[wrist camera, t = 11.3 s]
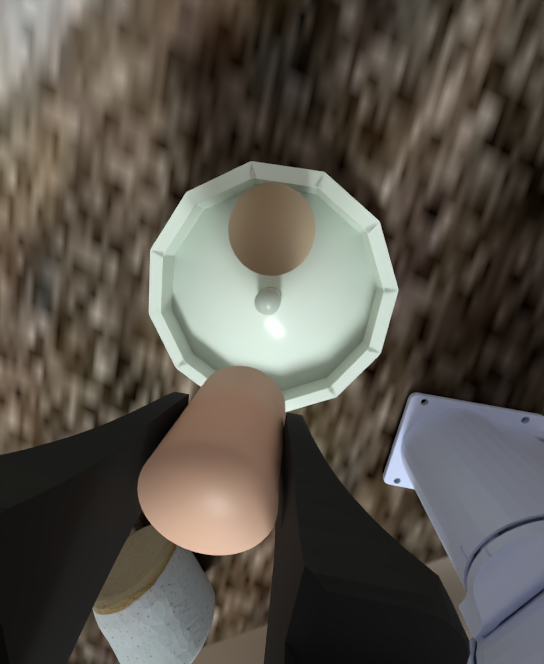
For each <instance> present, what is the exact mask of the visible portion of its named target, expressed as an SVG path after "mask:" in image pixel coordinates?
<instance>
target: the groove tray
mask: <svg viewBox="0 0 544 664" xmlns="http://www.w3.org/2000/svg"><path fill="white" fill-rule="evenodd" d="M265 183H279V184H284V185H287V186H289V187H291V188H293V189H295V190H296V191H297V192H299V193H300V194H301V195H302V196H303V197H304V198H305V200H306V201H307V202H308V204H309V206H310V208H311V210H312V212H313V216H314V219H315V239H314V242H313V246H312V248H311V250H310V252H309V254H308V256H307V257H306V259H305V260H304V261H303V262H302V263H301V264H300V265H299V266H298V267H297V268H295V269H293V270H292V271H290V272H288V273H285V274H282V275H277V276H267V275H261V274H258V273H255V272H253V271H251V270H250V269H248V268H247V267H245V266H244V265H243V264H242V263H241V262H240V261H239V259H238V258H237V257H236V255H235V254H234V252H233V249H232V247H231V244H230V240H229V234H228V225H229V219H230V215H231V212H232V210H233V207H234V206H235V204H236V202H237V201H238V200H239V198H240V197H241V196H242V195H243V194H244V193H245V192H247V191H248V190H250V189H251V188H253V187H255V186H258V185H260V184H265ZM397 294H398V286H397V282H396V279H395V275H394V271H393V268H392V264H391V261H390V257H389V253H388V250H387V246H386V243H385V239H384V235H383V232H382V228H381V224H380V222H379V220H378V219H376V218H375V217H374V216H373V215H372V214H371V213H370V212H369V211H368V210H366V209H365V208H364V207H363V206H362V205H361V204H360V203H359V202H358V201H356V200H355V199H354V198H353V197H352V196H351V195H350V194H349V193H347V192H346V191H345V190H344V189H343V188H342V187H341V186H340V185H339V184H337V183H336V182H335V181H334V180H333V179H332V178H331V177H330V176H329V175H327V174H326V173H325V172H322V171H316V170H309V169H302V168H295V167H288V166H281V165H274V164H267V163H260V162H254V161H250V162H248V163H246V164H244V165H242V166H240V167H238V168H235V169H233V170H231V171H229V172H227V173H225V174H223V175H221V176H219V177H217V178H215V179H212V180H210V181H208V182H206V183H204V184H202V185H200V186H198V187H196V188H194V189H192V190H190V191H187V192H186V193H185V195H184V196H183V198H182V200H181V201H180V203H179V205H178V206H177V208H176V209H175V211H174V213H173V214H172V216H171V217H170V219H169V221H168V222H167V224H166V226H165V227H164V229H163V230H162V232H161V234H160V235H159V237H158V238H157V240H156V242H155V243H154V245H153V246H152V248H151V250H150V287H149V315H150V317H151V319H152V321H153V323H154V325H155V327H156V329H157V331H158V333H159V335H160V337H161V339H162V341H163V343H164V345H165V347H166V349H167V351H168V353H169V355H170V357H171V359H172V361H173V363H174V365H175V367H176V368H177V369H178V370H179V371H181V372H182V373H183V374H185V375H186V376H187V377H189V378H190V379H191V380H193V381H194V382H195V383H197V384H198V385H199V386H202V385H203V384H204V382H205V381H206V380H207V379H208V378H209V376H211V375H212V374H213V373H215V372H216V371H218V370H220V369H223V368H226V367H229V366H248V367H252V368H255V369H257V370H260V371H262V372H264V373H265V374H267V375H268V376H269V377H270V378H272V379H273V380H274V381H275V383H276V384H277V385H278V386H279V388H280V390H281V392H282V394H283V396H284V400H285V412H287V411H291V410H294V409H298V408H301V407H304V406H308V405H311V404H315V403H318V402H321V401H325V400H328V399H331V398H335V397H337V396H338V395H339V394H340V393H341V392H342V391H343V390H344V389H345V388H346V387H347V386H348V385H349V384H350V383H351V382H352V381H353V380H354V379H355V378H356V377H357V376H358V375H359V374H360V373H361V372H362V371H363V370H364V369H365V368H367V367H368V366H369V365H370V364H371V363H372V362H373V361H374V360H375V359H376V358H377V357H378V356H379V355H380V353H381V350H382V347H383V343H384V340H385V336H386V333H387V329H388V326H389V322H390V319H391V315H392V311H393V308H394V304H395V301H396V297H397Z"/></svg>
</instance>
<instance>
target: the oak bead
mask: <svg viewBox="0 0 544 664" xmlns="http://www.w3.org/2000/svg"><path fill="white" fill-rule="evenodd" d="M228 234H229V240H230V244H231V247H232V249H233V252H234V254H235V255H236V257H237V258H238V259H239V261H240V262H241V263H242V264H243V265H244V266H245V267H247V268H248V269H250V270H251V271H253V272H255V273H258V274H261V275H267V276H277V275H282V274H285V273H288V272H290V271H292V270H293V269H295V268H297V267H298V266H299V265H300V264H301V263H302V262H303V261H304V260H305V259H306V257H307V256H308V254H309V252H310V250H311V248H312V246H313V242H314V239H315V219H314V216H313V212H312V210H311V208H310V206H309V204H308V202H307V201H306V200H305V198H304V197H303V196H302V195H301V194H300V193H299V192H297V191H296V190H295V189H293V188H291V187H289V186H287V185H284V184H279V183H265V184H260V185H258V186H255V187H253V188H251V189H250V190H248V191H247V192H245V193H244V194H243V195H242V196H241V197H240V198H239V200H238V201H237V202H236V204H235V206H234V207H233V210H232V212H231V215H230V219H229V225H228Z"/></svg>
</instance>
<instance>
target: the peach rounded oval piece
mask: <svg viewBox="0 0 544 664" xmlns="http://www.w3.org/2000/svg"><path fill="white" fill-rule="evenodd" d="M284 423H285V400H284V396H283V394H282V392H281V390H280V388H279V386H278V385H277V384H276V383H275V381H274V380H273V379H272V378H270V377H269V376H268V375H267V374H265V373H264V372H262V371H260V370H257V369H255V368H252V367H248V366H229V367H226V368H223V369H220V370H218V371H216V372H215V373H213V374H212V375H211V376H209V378H208V379H207V380H206V381H205V382H204V384H203V385H202V386H201V388H200V389H199V391H198V392H197V393H196V395H195V396H194V397H193V399H192V400H191V401H190V403H189V404H188V406H187V407H186V408H185V410H184V411H183V412H182V414H181V415H180V417H179V418H178V419H177V421H176V422H175V423H174V425H173V426H172V428H171V429H170V430H169V432H168V433H167V434H166V436H165V437H164V439H163V440H162V441H161V443H160V444H159V445H158V447H157V448H156V450H155V451H154V452H153V454H152V455H151V456H150V458H149V459H148V460H147V462H146V463H145V465H144V466H143V468H142V470H141V473H140V476H139V479H138V487H137V489H138V498H139V503H140V505H141V508H142V510H143V512H144V514H145V516H146V518H147V519H148V520H149V522H150V523H151V524H152V526H153V527H154V528H155V529H156V530H157V531H158V532H159V533H160V534H162V535H163V536H164V537H165V538H167V539H168V540H170V541H171V542H173V543H175V544H176V545H178V546H180V547H183V548H185V549H188V550H190V551H193V552H197V553H201V554H207V555H230V554H236V553H240V552H243V551H246V550H248V549H250V548H252V547H254V546H256V545H257V544H259V543H260V542H261V541H263V540H264V539H265V538H266V537H267V536H268V534H269V533H270V531H271V530H272V528H273V526H274V524H275V522H276V518H277V514H278V504H279V490H280V477H281V463H282V450H283V433H284Z"/></svg>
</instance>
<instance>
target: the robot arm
mask: <svg viewBox="0 0 544 664" xmlns="http://www.w3.org/2000/svg"><path fill="white" fill-rule="evenodd" d="M423 399H426V401H425V402H423V403H421V401H422V400H423ZM188 400H189V394H184V393H179V392H173V393H170V394H168V395H166V396H164V397H162V398H160V399H158V400H156V401H154V402H152V403H150V404H148V405H146V406H144V407H142V408H140V409H138V410H136V411H134V412H131V413H129V414H127V415H125V416H122V417H120V418H118V419H116V420H113V421H111V422H109V423H106V424H104V425H101V426H99V427H96V428H94V429H91V430H88V431H85V432H83V433H80V434H77V435H74V436H71V437H68V438H64V439H61V440H57V441H54V442H51V443H47V444H44V445H40V446H37V447H33V448H29V449H25V450H21V451H17V452H13V453H8V454H4V455H0V664H67V662H68V660H69V657H70V655H71V653H72V651H73V649H74V646H75V644H76V642H77V640H78V638H79V636H80V633H81V631H82V629H83V627H84V625H85V623H86V621H87V619H88V617H89V614H90V612H91V610H92V608H93V606H94V604H95V602H96V600H97V598H98V596H99V593H100V591H101V589H102V587H103V585H104V583H105V581H106V579H107V577H108V575H109V573H110V571H111V569H112V567H113V565H114V563H115V561H116V559H117V557H118V555H119V553H120V551H121V549H122V548H123V546H124V544H125V542H126V540H127V538H128V536H129V534H130V532H131V530H132V528H133V526H134V525H135V523H136V521H137V519H138V518H139V516H140V514H141V513H142V511H143V510H142V508H141V505H140V503H139V498H138V489H137V487H138V479H139V476H140V473H141V470H142V468H143V466H144V465H145V463H146V462H147V460H148V459H149V458H150V456H151V455H152V454H153V452H154V451H155V450H156V448H157V447H158V445H159V444H160V443H161V441H162V440H163V439H164V437H165V436H166V434H167V433H168V432H169V430H170V429H171V428H172V426H173V425H174V423H175V422H176V421H177V419H178V418H179V417H180V415H181V414H182V412H183V411H184V410H185V408H186V407H187V406H188ZM524 417H525V418H524ZM523 418H524V419H523ZM522 419H523V420H522ZM396 478H398V479H396ZM383 479H384V481H385V483H387V484H390V485H395V486H401V487H406V488H411V489H415V491H416V493H417V495H418V497H419V499H420V501H421V503H422V505H423V507H424V509H425V511H426V513H427V515H428V517H429V519H430V521H431V522H432V524H433V526H434V528H435V530H436V532H437V534H438V536H439V538H440V540H441V542H442V544H443V546H444V548H445V550H446V552H447V554H448V556H449V558H450V560H451V562H452V564H453V566H454V568H455V570H456V572H457V574H458V576H459V578H460V580H461V582H462V584H463V586H464V588H465V590H466V592H467V594H466V597H465V599H464V600H463V601H462V603H461V604H460V605H459V609H460V611H461V613H462V615H463V617H464V620H465V622H466V624H467V626H468V628H469V630H470V632H471V635H472V637H473V638H471V639H470V640H469V639H468V637H467V635H466V633H465V630H464V628H463V626H462V624H461V622H460V619H459V617H458V614H457V612H456V610H455V608H454V606H453V603H452V601H451V600H450V597H449V596H448V594H447V592H446V590H445V588H444V586H443V584H442V582H441V580H440V578H439V576H438V575H437V574H435V573H434V572H433V571H432V570H431V569H429V568H428V567H427V566H426V565H424V564H423V563H422V562H421V561H420V560H418V559H417V558H416V557H415V556H414V555H412V554H411V553H410V552H409V551H407V550H406V549H405V548H404V547H403V546H401V545H400V544H399V543H398V542H397V541H396V540H395V539H394V538H393V537H392V536H391V535H389V534H388V533H387V532H386V531H385V530H384V529H383V528H382V527H381V526H380V525H379V524H378V523H377V522H376V521H375V520H374V519H373V518H372V517H371V516H370V515H369V514H368V513H367V512H366V511H365V510H364V509H363V508H362V506H361V505H360V504H359V503H358V502H357V501H356V500H355V499H354V498H353V497H352V495H351V494H350V493H349V492H348V491H347V489H346V488H345V487H344V486H343V484H342V483H341V482H340V480H339V479H338V478H337V476H336V475H335V474H334V472H333V471H332V469H331V468H330V466H329V465H328V463H327V461H326V460H325V458H324V457H323V455H322V453H321V452H320V450H319V448H318V446H317V444H316V443H315V441H314V439H313V437H312V435H311V433H310V431H309V429H308V427H307V424H306V422H305V420H304V418H303V416H302V415H298V414H293V413H287V414H286V419H285V424H284V433H283V450H282V463H281V477H280V490H279V504H278V514H277V518H276V522H275V553H274V565H273V575H272V586H271V597H270V607H269V617H268V628H267V637H266V648H265V657H264V664H544V416H542V415H540V414H536V413H530V412H525V411H519V410H514V409H508V408H502V407H497V406H491V405H485V404H480V403H474V402H468V401H463V400H457V399H451V398H446V397H440V396H434V395H429V394H423V393H418V392H415V393H412V394H411V395H410V396H409V397H408V400H407V403H406V406H405V410H404V413H403V416H402V419H401V422H400V425H399V428H398V431H397V434H396V437H395V440H394V443H393V446H392V449H391V452H390V455H389V458H388V461H387V464H386V467H385V470H384V473H383ZM394 479H396V480H394Z"/></svg>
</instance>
